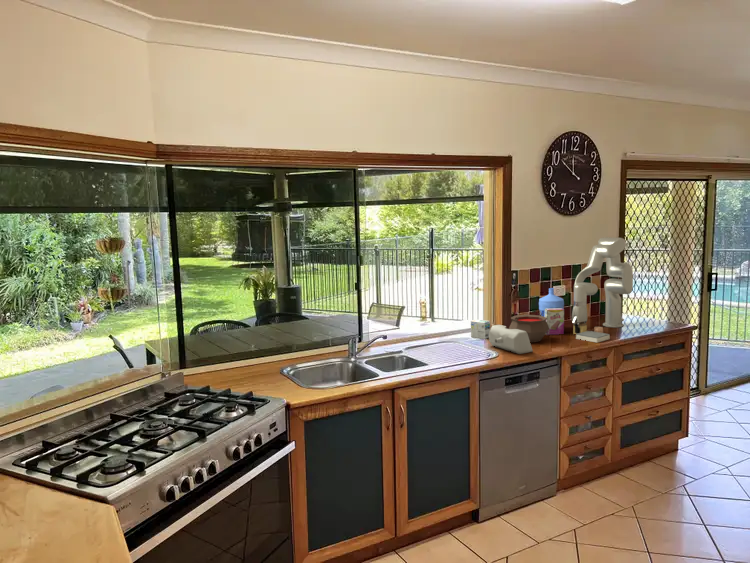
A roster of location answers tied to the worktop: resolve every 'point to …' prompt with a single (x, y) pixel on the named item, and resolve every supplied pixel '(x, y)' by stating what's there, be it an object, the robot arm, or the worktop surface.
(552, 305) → the water jug
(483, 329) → the light bulb box
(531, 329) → the brown pot
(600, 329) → the beige egg shape
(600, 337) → the podium
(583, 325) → the carton
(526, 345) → the tank
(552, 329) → the candy bar box
